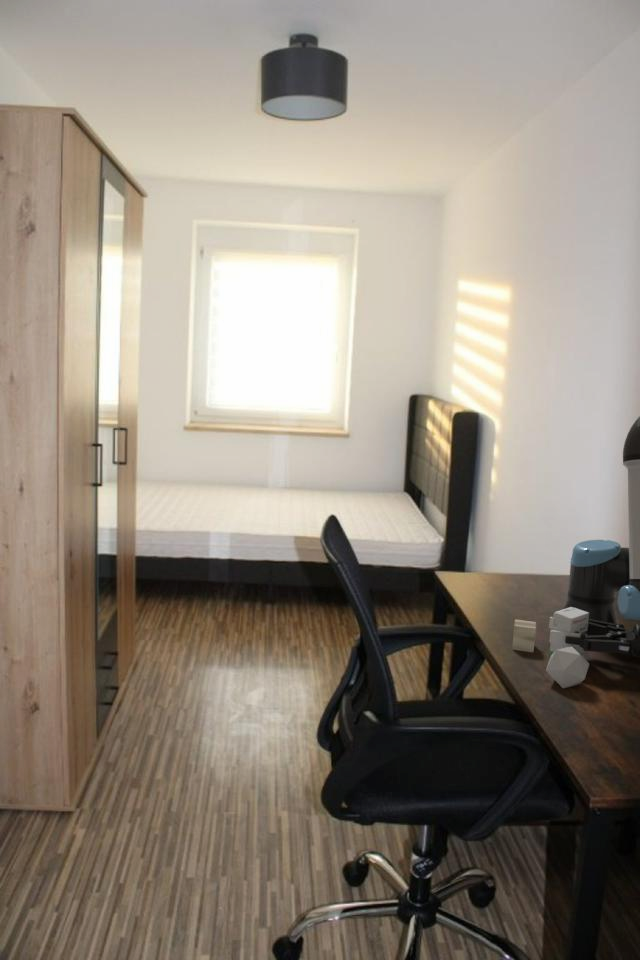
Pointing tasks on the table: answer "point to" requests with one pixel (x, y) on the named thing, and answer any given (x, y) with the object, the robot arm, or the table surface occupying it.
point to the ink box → (570, 626)
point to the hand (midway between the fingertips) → (549, 629)
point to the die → (567, 667)
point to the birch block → (524, 635)
